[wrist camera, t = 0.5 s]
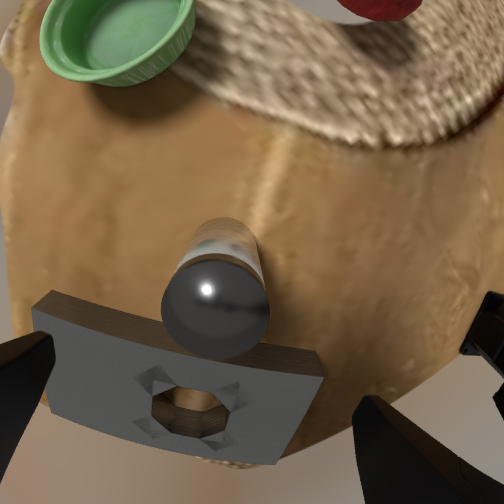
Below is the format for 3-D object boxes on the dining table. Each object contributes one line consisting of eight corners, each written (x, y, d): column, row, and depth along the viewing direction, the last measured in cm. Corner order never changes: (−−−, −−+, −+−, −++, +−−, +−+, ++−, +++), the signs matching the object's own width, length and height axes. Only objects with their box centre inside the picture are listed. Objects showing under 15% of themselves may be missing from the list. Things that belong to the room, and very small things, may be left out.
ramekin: (107, -23, 12) (84, -52, 8) (226, -10, 14) (223, -47, 9) (55, 85, 15) (17, 74, 10) (171, 109, 16) (151, 95, 12)
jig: (314, 351, 21) (324, 377, 18) (272, 440, 24) (275, 464, 21) (51, 289, 19) (31, 308, 16) (63, 391, 22) (51, 412, 19)
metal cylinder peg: (263, 226, 18) (282, 277, 11) (247, 286, 19) (254, 366, 12) (198, 210, 18) (168, 252, 10) (185, 272, 19) (156, 346, 11)
